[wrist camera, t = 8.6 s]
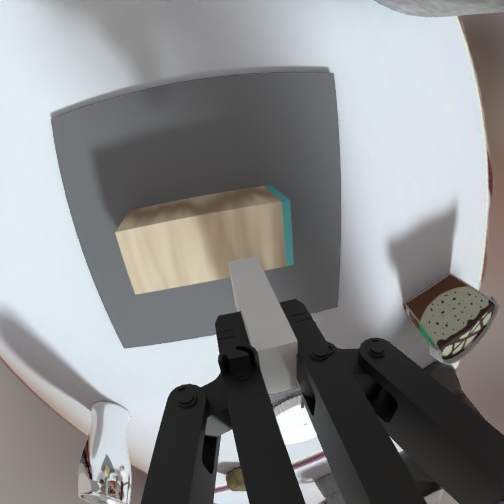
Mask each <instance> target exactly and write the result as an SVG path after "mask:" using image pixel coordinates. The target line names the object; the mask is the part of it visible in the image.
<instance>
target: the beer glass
mask: <svg viewBox="0 0 504 504" xmlns="http://www.w3.org/2000/svg"><path fill="white" fill-rule="evenodd" d="M91 419H92V420H91V429H90V433H89V436H88V438H87V441H86V444H85V446H84V449H83V452H82V456H81V459H80V465H79V475H78V490H79V491H78V492H79V493H78V496H79V497H80V498H81V499H83V500H84V501H87V502H89V503H91V504H130V499H131V483H132V479H131V466H130V459H129V453H128V447H127V431H128V427H129V424H130V421H131V415H130V413H129V412H128V411H127V410H126V409H125V408H123V407H122V406H120V405H117V404H115V403H111V402H97V403H94V404H93V405H92V408H91Z"/></svg>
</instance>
